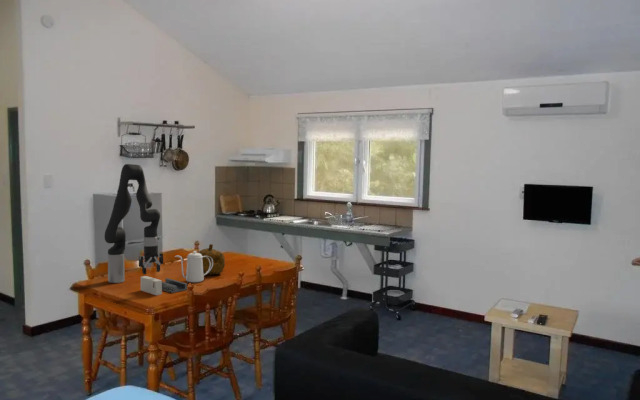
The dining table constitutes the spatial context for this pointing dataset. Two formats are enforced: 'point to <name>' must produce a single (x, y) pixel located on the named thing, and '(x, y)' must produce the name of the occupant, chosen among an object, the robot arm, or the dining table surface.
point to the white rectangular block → (151, 285)
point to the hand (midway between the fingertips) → (151, 272)
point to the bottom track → (173, 285)
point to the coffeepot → (195, 267)
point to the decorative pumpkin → (217, 260)
